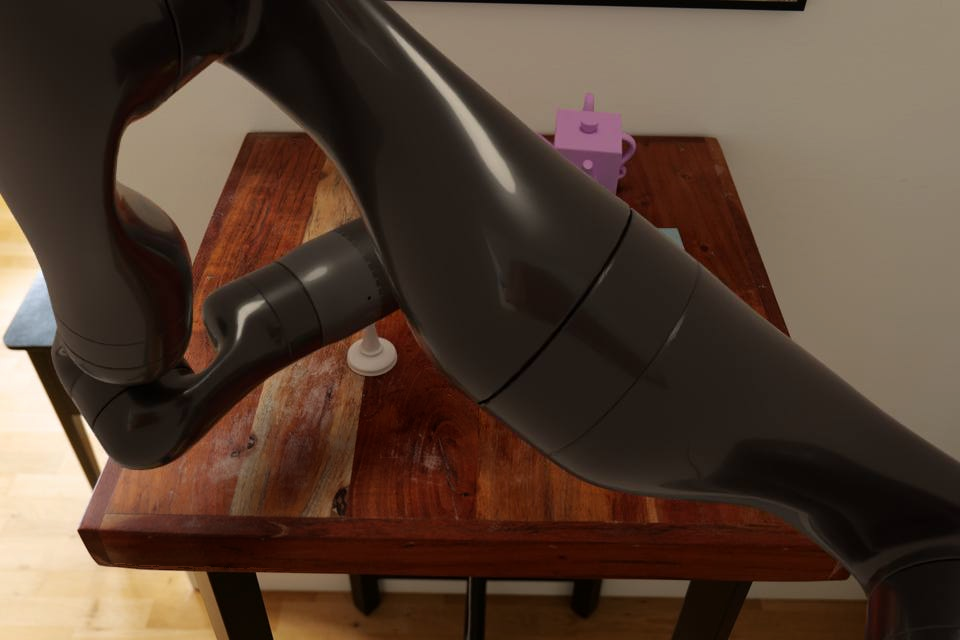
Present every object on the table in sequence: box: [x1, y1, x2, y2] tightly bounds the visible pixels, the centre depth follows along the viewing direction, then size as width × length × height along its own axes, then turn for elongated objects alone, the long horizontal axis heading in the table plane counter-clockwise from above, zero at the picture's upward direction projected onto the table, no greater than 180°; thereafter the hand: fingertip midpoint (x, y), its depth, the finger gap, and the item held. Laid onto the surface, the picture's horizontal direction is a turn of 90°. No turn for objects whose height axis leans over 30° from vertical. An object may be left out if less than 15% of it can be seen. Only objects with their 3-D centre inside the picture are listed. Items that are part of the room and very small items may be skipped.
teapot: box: [533, 92, 637, 196], centre depth 105 cm, size 18×13×10 cm
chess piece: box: [346, 321, 398, 377], centre depth 81 cm, size 5×5×10 cm
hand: (506, 198), depth 71 cm, fingers open, 8 cm apart
